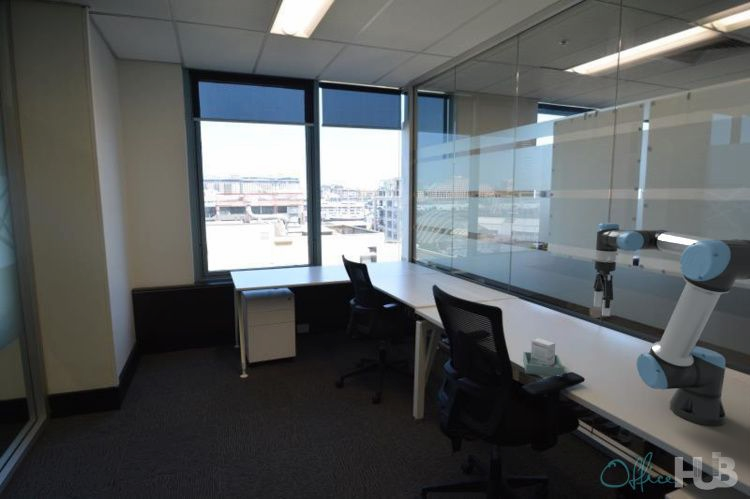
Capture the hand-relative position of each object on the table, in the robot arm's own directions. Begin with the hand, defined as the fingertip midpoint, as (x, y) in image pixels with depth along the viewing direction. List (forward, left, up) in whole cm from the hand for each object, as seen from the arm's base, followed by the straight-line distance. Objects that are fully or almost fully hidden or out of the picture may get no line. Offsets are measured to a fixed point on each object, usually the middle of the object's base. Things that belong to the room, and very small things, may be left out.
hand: (601, 310), depth 172 cm
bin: (-3, +22, -27) cm, 35 cm away
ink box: (-4, +22, -26) cm, 35 cm away
